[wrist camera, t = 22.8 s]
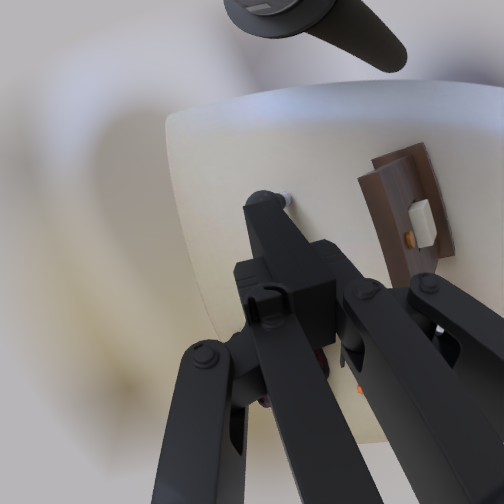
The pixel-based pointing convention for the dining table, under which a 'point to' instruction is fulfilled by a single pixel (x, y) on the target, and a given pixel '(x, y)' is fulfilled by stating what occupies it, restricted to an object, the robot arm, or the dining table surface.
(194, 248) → the dining table surface
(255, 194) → the light bulb
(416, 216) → the button
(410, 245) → the switch plate
